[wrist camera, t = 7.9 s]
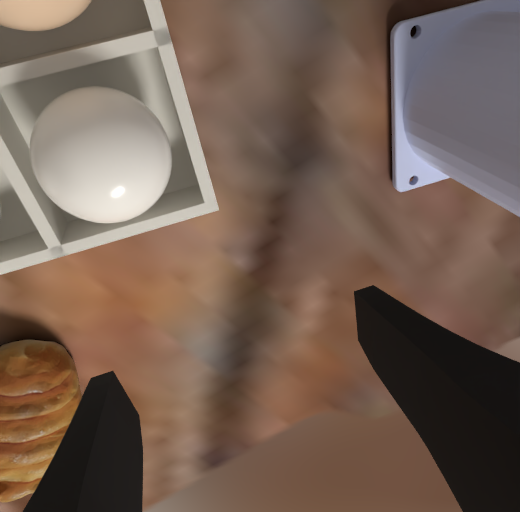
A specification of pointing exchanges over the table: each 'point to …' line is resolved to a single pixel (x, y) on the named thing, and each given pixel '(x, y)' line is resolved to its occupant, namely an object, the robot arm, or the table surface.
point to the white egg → (100, 154)
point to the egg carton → (85, 75)
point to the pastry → (33, 411)
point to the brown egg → (39, 13)
